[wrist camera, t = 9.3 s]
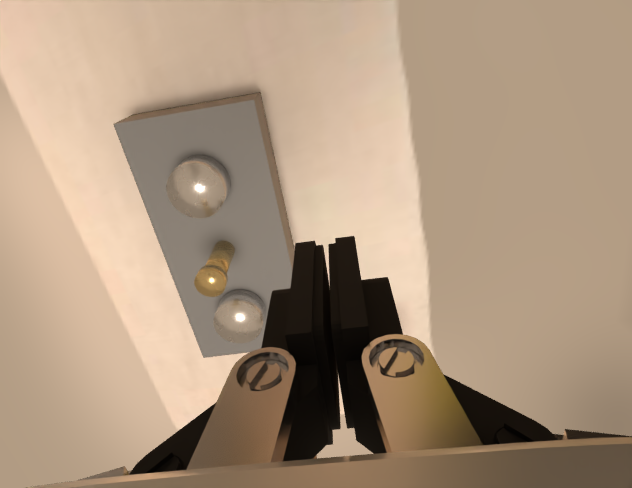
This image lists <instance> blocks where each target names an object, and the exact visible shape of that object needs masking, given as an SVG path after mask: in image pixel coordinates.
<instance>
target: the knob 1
mask: <svg viewBox="0 0 632 488" xmlns="http://www.w3.org/2000/svg"><path fill="white" fill-rule="evenodd" d="M166 190H167V195H168V198H169V200H170V202H171V203H172V205H173V206H174V207H175V208H176V209H177V210H178V211H179V212H181V213H182V214H184V215H186V216H189V217H192V218H207V217H210V216H212V215H214V214H215V213H217V212H218V211H219V209H220V208H221V207H222V205H223V203H224V201H225V199H226V197H227V196H228V194H229V191H230V178H229V175H228V173H227V171H226V169H225V168H224V167H223V165H222V164H221V163H219V162H218V161H217V160H215V159H213V158H211V157H208V156H204V155H195V156H191V157H188V158H187V159H185V160H184V161H183V162H181V163H180V164H179V165H178V166H177V167H176V168H175V169H174V170H173V171H172V173H171V174H170V175H169V177H168V180H167V184H166Z"/></svg>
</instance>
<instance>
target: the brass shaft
mask: <svg viewBox="0 0 632 488" xmlns="http://www.w3.org/2000/svg"><path fill="white" fill-rule="evenodd" d="M234 253H235V248H234V246H233V244H232V243H230V242H228V241H225V240H222V241H219V242H217V243H216V244H215V246H214V248H213V250H212V252H211V254H210V257H209V259H208V261H207V263H206V265H205V266H203V267H202V268H200V270H199V271H198V273H197V275H196V277H195V280H194V285H195V288H196V289H197V291H198V292H199V293H201V294H202V295H204V296H208V297H216V296H219V295H220V294H222V293H223V292H224V290H225V287H226V284H227V281H228V277H227V272H228V269H229V266H230V264H231V261H232V258H233V256H234Z"/></svg>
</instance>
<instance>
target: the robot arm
mask: <svg viewBox="0 0 632 488" xmlns="http://www.w3.org/2000/svg"><path fill="white" fill-rule="evenodd" d="M335 240H336V243H334V244H329V274H330V287H329V280H328V274H327V268H326V261H325V255H324V248H323V245H318V246H316V243H315V241H310V242H302V243H296V245H295V253H294V261H293V270H292V278H291V287H290V288H289V289H280V290H273V291H272V294H271V298H270V304H269V309H268V315H267V320H266V325H265V331H264V336H263V342H262V347H261V348H260V349H257V350H254V351H251V352H250V353H248V354H246V355H244V356H243V357H242V358H241V359H240V360H238V361H237V362H236V363H235V365H234V366H233V368H232V370H231V372H230V374H229V376H228V378H227V380H226V383H225V385H224V387H223V389H222V391H221V394H220V396H219V398H218V400H217V402H216V403H215V404H214V405H212V406H211V407H210V408H208V409H207V410H206V411H204V412H203V413H202V414H200V415H199V416H198V417H196V418H195V419H194V420H192V421H191V422H190V423H188V424H187V425H186V426H184V427H183V428H182V429H180V430H179V431H178V432H176V433H175V434H174V435H173V436H171V437H170V438H168V439H167V440H166V441H164V442H163V443H162V444H160V445H159V446H158V447H156V448H155V449H154V450H152V451H151V452H150V453H148V454H147V455H146V456H145V457H144V458H143V459H142V460H140V461H139V462H138V463H137V464H136V466H135V467H134V468H133V470H131V471H127V470H126V468H125V466H124V467H121V468H117V469H114V470H110V471H107V472H104V473H101V474H97V475H94V476H90V477H87V478H83V479H80V480H77V481H69V482H61V483H54V484H47V485H41V486H33V487H26V488H632V436H625V435H615V434H605V433H597V432H587V431H579V430H569V429H565V430H564V435H558V434H552V433H551V432H550V431H549V430H548V429H547V428H545V427H544V426H542V425H541V424H539V423H537V422H536V421H534V420H532V419H530V418H528V417H526V416H524V415H522V414H521V413H519V412H517V411H515V410H513V409H511V408H509V407H507V406H505V405H503V404H501V403H499V402H497V401H495V400H493V399H491V398H489V397H487V396H485V395H483V394H481V393H479V392H477V391H475V390H473V389H471V388H469V387H467V386H465V385H463V384H461V383H460V382H458V381H456V380H454V379H452V378H449V377H447V376H445V375H444V374H443V373H442V372H441V370H440V368H439V366H438V364H437V362H436V361H435V359H434V357H433V355H432V354H431V352H430V350H429V349H428V348H427V346H426V345H425V344H424V343H423V342H421V341H419V340H418V339H416V338H414V337H411V336H408V335H403V333H402V329H401V325H400V321H399V317H398V314H397V310H396V306H395V302H394V298H393V295H392V291H391V287H390V283H389V280H388V277H384V278H375V279H367V280H361V276H360V269H359V263H358V257H357V250H356V244H355V237H354V236H350V237H342V238H335ZM338 375H339V381H340V387H341V393H342V399H343V405H344V412H345V418H346V424H347V428H355V434H356V440H357V441H358V442H359V443H361V444H362V445H364V446H365V447H366V448H367V449H369V450H370V451H371V452H373V453H374V454H367V455H355V456H343V457H331V458H318V459H317V456H316V455H317V454H318V453H319V452H320V451H321V450H322V449H323V448H324V447H325V446H326V445H331V444H333V434H332V430H334V429H340V407H339V386H338Z"/></svg>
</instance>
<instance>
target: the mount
mask: <svg viewBox="0 0 632 488" xmlns="http://www.w3.org/2000/svg"><path fill="white" fill-rule="evenodd" d="M114 127H115V130H116V132H117V135H118V137H119V140H120V143H121V145H122V148H123V150H124V153H125V156H126V158H127V161H128V163H129V166H130V169H131V171H132V174H133V176H134V179H135V182H136V184H137V187H138V189H139V192H140V194H141V197H142V200H143V202H144V205H145V207H146V210H147V213H148V215H149V218H150V220H151V223H152V226H153V228H154V231H155V233H156V236H157V239H158V241H159V244H160V246H161V249H162V252H163V254H164V257H165V259H166V262H167V265H168V267H169V270H170V272H171V275H172V277H173V280H174V283H175V285H176V288H177V290H178V293H179V296H180V298H181V301H182V303H183V306H184V309H185V311H186V314H187V316H188V319H189V322H190V324H191V327H192V329H193V332H194V335H195V337H196V340H197V342H198V345H199V347H200V350H201V353H202V355H203V358H205V357H213V356H222V355H230V354H238V353H247V352H251V351H254V350H257V349H260V348H261V347H262V342H263V336H264V331H265V325H266V320H267V315H268V309H269V304H270V298H271V294H272V291H273V290H280V289H289V288H290V287H291V278H292V270H293V261H294V253H295V251H294V246H293V241H292V237H291V232H290V227H289V223H288V218H287V214H286V209H285V204H284V200H283V195H282V190H281V186H280V181H279V177H278V172H277V167H276V163H275V158H274V153H273V149H272V144H271V140H270V135H269V130H268V126H267V121H266V116H265V112H264V107H263V103H262V98H261V93H255V94H249V95H243V96H238V97H232V98H226V99H220V100H215V101H209V102H203V103H198V104H192V105H186V106H180V107H175V108H169V109H163V110H158V111H152V112H146V113H140V114H135V115H131V116H129V117H127V118H125V119H123V120H121V121H119V122H117V123H115V124H114ZM195 155H204V156H208V157H211V158H213V159H215V160H217V161H218V162H219V163H221V164H222V165H223V167H224V168H225V169H226V171H227V173H228V175H229V178H230V191H229V194H228V196H227V197H226V199H225V201H224V203H223V205H222V207H221V208H220V209H219V211H218V212H217V213H215V214H214V215H212V216H210V217H207V218H192V217H189V216H186V215H184V214H182V213H181V212H179V211H178V210H177V209H176V208H175V207H174V206H173V205H172V203H171V202H170V200H169V198H168V195H167V190H166V184H167V180H168V177H169V175H170V174H171V173H172V171H173V170H174V169H175V168H176V167H177V166H178V165H179V164H180V163H181V162H183V161H184V160H185V159H187V158H188V157H191V156H195ZM222 240H225V241H228V242H230V243H232V244H233V246H234V248H235V253H234V256H233V258H232V261H231V264H230V266H229V269H228V272H227V277H228V281H227V284H226V287H225V290H224V292H223V293H222V294H220V295H219V296H216V297H208V296H204V295H202V294H201V293H199V292H198V291H197V289H196V288H195V285H194V280H195V277H196V275H197V273H198V271H199V270H200V268H202V267H203V266H205V265H206V263H207V261H208V259H209V257H210V254H211V252H212V250H213V248H214V246H215V244H216V243H217V242H219V241H222ZM234 290H246V291H250V292H252V293H254V294H256V295H257V296H258V297H259V298H260V299H261V300H262V301H263V303H264V306H265V315H264V321H263V326H262V330H261V333H260V334H259V336H258V337H257V338H256V339H254V340H252V341H250V342H247V343H233V342H230V341H227V340H225V339H223V338H222V337H221V336H220V335H219V334H218V333H217V332H216V330H215V328H214V325H213V320H214V316H215V313H216V311H217V308H218V305H219V302H220V300H221V298H222V297H223V296H224V295H225V294H227V293H228V292H231V291H234Z"/></svg>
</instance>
